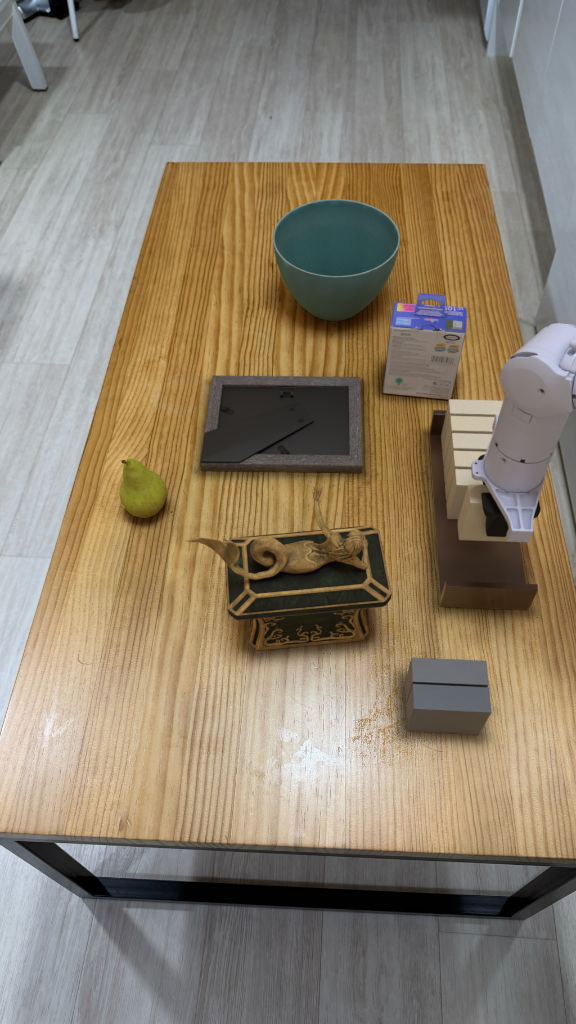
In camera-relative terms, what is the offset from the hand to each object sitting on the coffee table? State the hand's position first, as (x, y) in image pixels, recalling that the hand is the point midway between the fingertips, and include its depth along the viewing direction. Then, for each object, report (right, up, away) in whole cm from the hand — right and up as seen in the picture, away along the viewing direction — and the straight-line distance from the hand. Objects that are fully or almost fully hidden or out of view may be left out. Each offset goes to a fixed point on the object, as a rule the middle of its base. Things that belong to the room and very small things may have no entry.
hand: (494, 522), depth 80 cm
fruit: (-40, +1, +15) cm, 43 cm away
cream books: (+1, +6, +15) cm, 16 cm away
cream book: (0, -1, +2) cm, 2 cm away
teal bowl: (-15, +34, +37) cm, 52 cm away
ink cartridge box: (-4, +19, +26) cm, 33 cm away
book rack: (+1, +1, +13) cm, 13 cm away
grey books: (-6, -20, -1) cm, 21 cm away
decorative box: (-22, -11, +6) cm, 25 cm away
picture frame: (-23, +13, +22) cm, 34 cm away
